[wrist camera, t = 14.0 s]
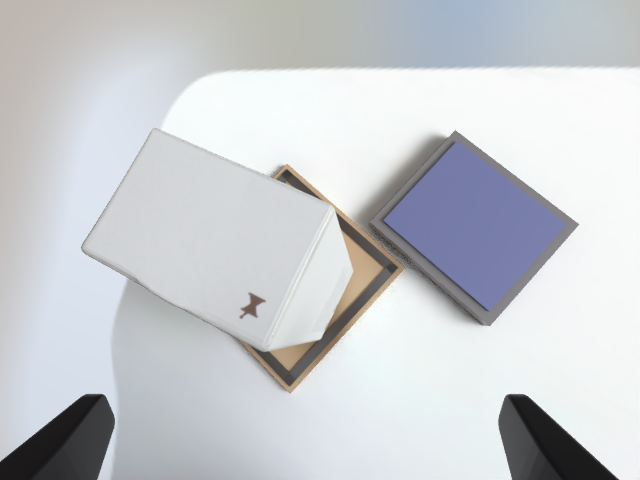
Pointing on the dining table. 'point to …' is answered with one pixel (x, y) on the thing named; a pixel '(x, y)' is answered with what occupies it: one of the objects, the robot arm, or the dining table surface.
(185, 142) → the skincare box
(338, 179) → the dining table surface
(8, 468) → the robot arm
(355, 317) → the marked board
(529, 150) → the dining table surface
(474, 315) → the ink pad
